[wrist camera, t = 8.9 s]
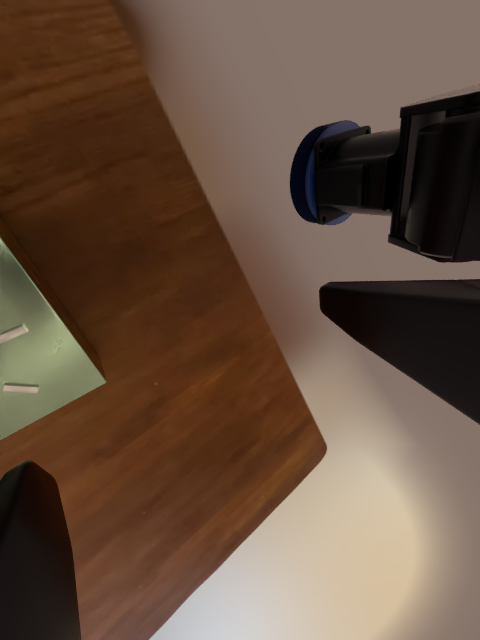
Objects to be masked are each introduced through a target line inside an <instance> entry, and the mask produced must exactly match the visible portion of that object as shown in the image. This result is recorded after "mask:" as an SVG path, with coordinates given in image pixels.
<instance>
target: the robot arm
mask: <svg viewBox="0 0 480 640" xmlns="http://www.w3.org/2000/svg"><path fill="white" fill-rule="evenodd" d="M400 118H401V126H400V129H395V130H389V131H383V132H378V133H372V134H371V128H370V126H363V127H360V128H356V129H353V130H350V131H346V132H343V133H340V134H336V135H333V136H329V137H326V138H323V139H319V140H317V141H316V142H315V144H314V170H315V192H316V215H317V223H318V224H321V225H324V224H326V223H328V222H331V221H333V220H335V219H337V218H339V217H341V216H343V215H346V214H348V213H357V214H370V215H382V216H392V217H391V227H390V234H389V235H388V242H389V243H392V244H394V245H397V246H399V247H402V248H405V249H407V250H409V251H412V252H414V253H417V254H420V255H422V256H425V257H427V258H430V259H433V260H436V261H438V262H468V261H480V84H479V85H475V86H471V87H467V88H463V89H459V90H455V91H452V92H448V93H444V94H440V95H437V96H434V97H431V98H428V99H425V100H422V101H419V102H416V103H413V104H410V105H407V106H404V107H401V110H400ZM319 298H320V309H321V311H322V313H323V314H324V315H325V316H327V317H328V318H329V319H330V320H331V321H333V322H334V323H335V324H336V325H338V326H339V327H340V328H341V329H342V330H343V331H345V332H346V333H347V334H349V335H350V336H351V337H352V338H353V339H355V340H356V341H357V342H359V343H360V344H362V345H363V346H365V347H366V348H368V349H369V350H370V351H372V352H374V353H375V354H376V355H378V356H379V357H381V358H382V359H384V360H385V361H387V362H388V363H390V364H391V365H393V366H394V367H396V368H397V369H398V370H400V371H401V372H403V373H405V374H406V375H407V376H409V377H410V378H412V379H413V380H415V381H416V382H418V383H419V384H421V385H422V386H424V387H425V388H426V389H428V390H429V391H431V392H432V393H434V394H435V395H437V396H438V397H440V398H441V399H443V400H444V401H446V402H447V403H449V404H450V405H452V406H453V407H455V408H456V409H457V410H459V411H461V412H462V413H463V414H465V415H467V416H468V417H469V418H471V419H472V420H474V421H475V422H477V423H478V424H480V279H476V280H475V279H471V280H470V279H469V280H413V281H354V282H329V283H327V284H325V285H323V286H322V287H321V288H320V290H319ZM0 640H81V632H80V622H79V611H78V601H77V591H76V581H75V571H74V561H73V553H72V547H71V542H70V537H69V533H68V529H67V524H66V520H65V516H64V511H63V507H62V503H61V498H60V494H59V489H58V485H57V483H56V481H55V479H54V478H53V476H51V475H50V474H49V473H48V472H46V471H45V470H44V469H42V468H41V467H40V466H39V465H37V464H36V463H35V462H33V461H30V460H29V461H25V462H23V463H21V464H19V465H18V466H16V467H14V468H13V469H11V470H9V471H8V472H7V473H6V474H5V475H4V476H3V478H2V479H1V481H0Z"/></svg>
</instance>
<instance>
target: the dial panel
mask: <svg viewBox="0 0 480 640" xmlns="http://www.w3.org/2000/svg"><path fill="white" fill-rule="evenodd" d="M106 382H107V381H106V378H105V374H104V371H103V367H102V364H101V360H100V357H99V356H98V355H97V353H96V352H95V350H94V349H93V347H92V346H91V345H90V343H89V342H88V340H87V339H86V337H85V336H84V335H83V333H82V332H81V330H80V329H79V327H78V326H77V325H76V323H75V322H74V320H73V319H72V318H71V316H70V315H69V313H68V312H67V310H66V309H65V308H64V306H63V305H62V303H61V302H60V300H59V299H58V298H57V296H56V295H55V293H54V292H53V290H52V289H51V288H50V286H49V285H48V283H47V282H46V280H45V279H44V278H43V276H42V275H41V273H40V272H39V270H38V269H37V268H36V266H35V265H34V263H33V262H32V260H31V259H30V258H29V256H28V255H27V253H26V252H25V250H24V249H23V248H22V246H21V245H20V243H19V242H18V240H17V239H16V238H15V236H14V235H13V233H12V232H11V230H10V229H9V228H8V226H7V225H6V223H5V222H4V220H3V219H2V218H1V216H0V440H2V439H4V438H6V437H8V436H9V435H11V434H13V433H15V432H17V431H19V430H20V429H22V428H24V427H26V426H28V425H30V424H31V423H33V422H35V421H37V420H39V419H41V418H42V417H44V416H46V415H48V414H50V413H52V412H53V411H55V410H57V409H59V408H61V407H63V406H64V405H66V404H68V403H70V402H72V401H74V400H75V399H77V398H79V397H81V396H83V395H85V394H86V393H88V392H90V391H92V390H94V389H96V388H97V387H99V386H101V385H103V384H105V383H106Z"/></svg>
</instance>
